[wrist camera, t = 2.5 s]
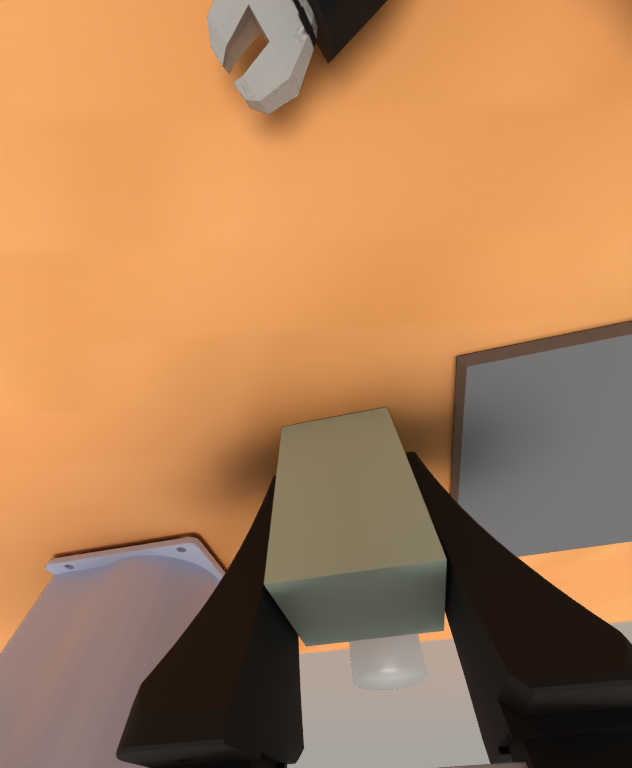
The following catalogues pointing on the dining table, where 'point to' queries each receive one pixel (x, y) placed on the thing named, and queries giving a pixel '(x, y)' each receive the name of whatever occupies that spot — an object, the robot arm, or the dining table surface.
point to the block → (352, 534)
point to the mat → (547, 441)
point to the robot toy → (282, 41)
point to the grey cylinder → (387, 662)
